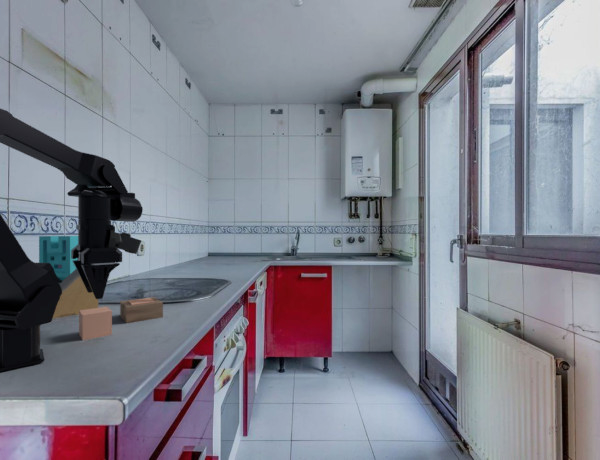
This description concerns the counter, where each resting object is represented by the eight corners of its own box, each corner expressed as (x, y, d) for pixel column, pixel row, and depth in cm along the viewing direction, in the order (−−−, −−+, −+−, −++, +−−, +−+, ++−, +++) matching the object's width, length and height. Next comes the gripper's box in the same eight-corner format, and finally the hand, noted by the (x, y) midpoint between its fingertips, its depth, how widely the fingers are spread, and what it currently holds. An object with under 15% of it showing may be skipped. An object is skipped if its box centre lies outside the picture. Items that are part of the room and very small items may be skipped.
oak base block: (162, 318, 78) (162, 301, 78) (126, 324, 73) (126, 306, 73) (154, 312, 84) (154, 296, 84) (120, 317, 79) (120, 300, 79)
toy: (39, 305, 90) (39, 236, 90) (56, 301, 96) (56, 236, 96) (70, 306, 89) (70, 236, 89) (85, 301, 95) (85, 235, 95)
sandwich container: (20, 316, 79) (20, 257, 79) (92, 306, 90) (92, 254, 90) (21, 324, 73) (21, 259, 73) (98, 312, 83) (98, 255, 83)
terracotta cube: (111, 335, 65) (111, 310, 65) (82, 340, 61) (82, 315, 61) (106, 329, 68) (106, 306, 68) (79, 334, 65) (78, 310, 65)
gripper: (150, 219, 63) (150, 296, 63) (126, 222, 77) (126, 285, 77) (84, 218, 56) (84, 305, 56) (71, 221, 70) (70, 291, 70)
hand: (94, 295), depth 65 cm, fingers open, 9 cm apart
